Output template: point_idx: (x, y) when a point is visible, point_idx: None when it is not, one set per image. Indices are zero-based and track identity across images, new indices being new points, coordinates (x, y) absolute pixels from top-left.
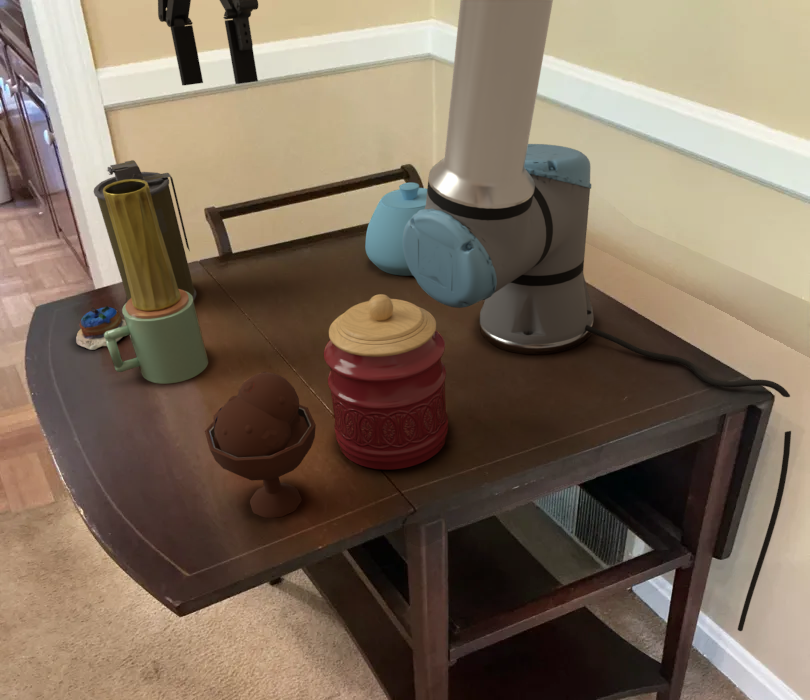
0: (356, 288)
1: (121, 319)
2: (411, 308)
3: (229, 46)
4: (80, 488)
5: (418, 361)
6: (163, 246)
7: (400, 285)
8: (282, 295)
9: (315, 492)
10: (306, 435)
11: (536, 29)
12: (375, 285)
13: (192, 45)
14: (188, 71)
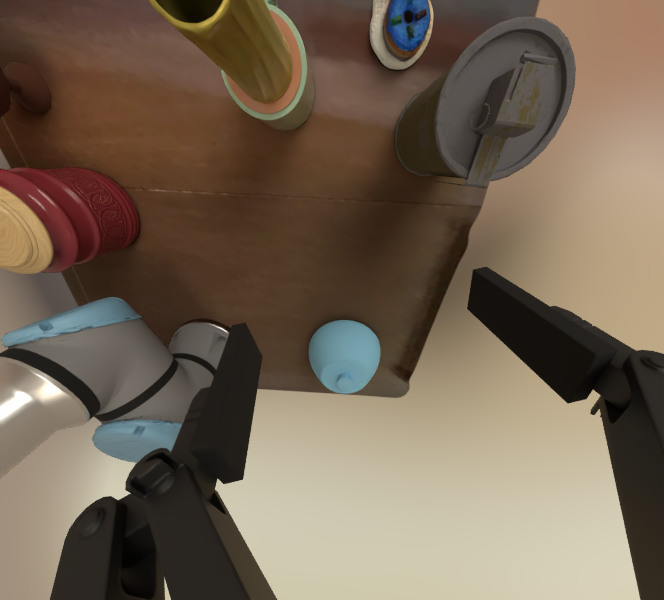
0: (327, 294)
1: (400, 58)
2: (2, 260)
3: (226, 380)
4: None
5: None
6: (227, 71)
7: (311, 318)
8: (355, 243)
9: (40, 126)
10: None
11: None
12: (322, 306)
13: (525, 353)
14: (488, 297)
